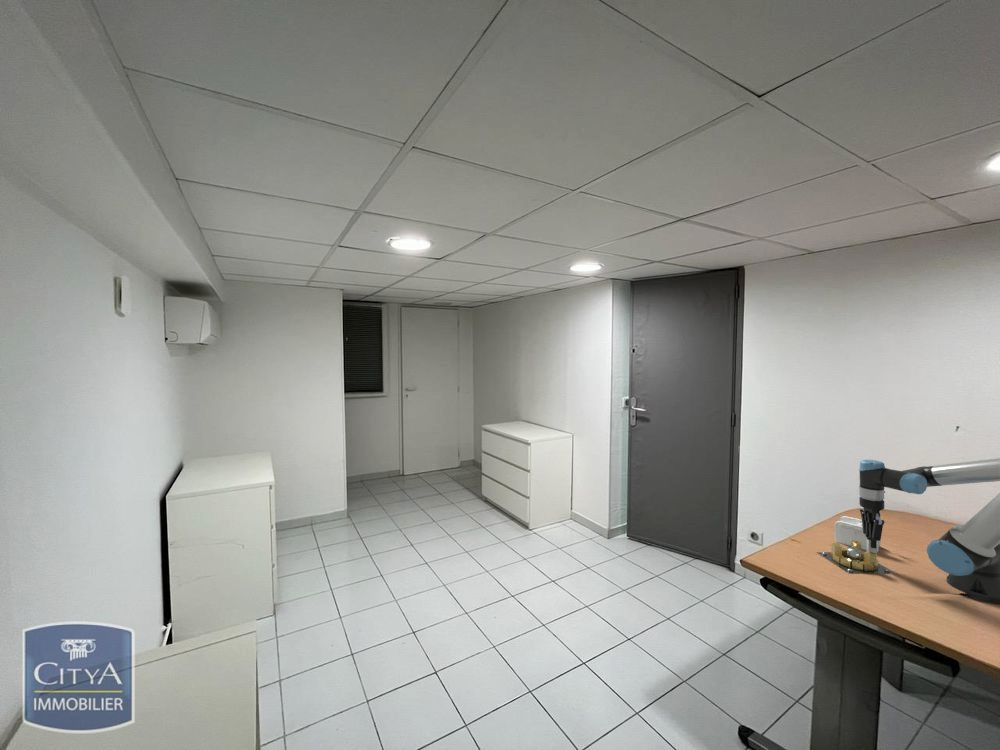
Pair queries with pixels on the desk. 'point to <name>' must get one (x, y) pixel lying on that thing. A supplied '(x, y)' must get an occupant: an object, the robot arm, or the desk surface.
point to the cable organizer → (851, 532)
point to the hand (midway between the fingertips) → (871, 554)
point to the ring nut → (866, 565)
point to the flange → (855, 555)
